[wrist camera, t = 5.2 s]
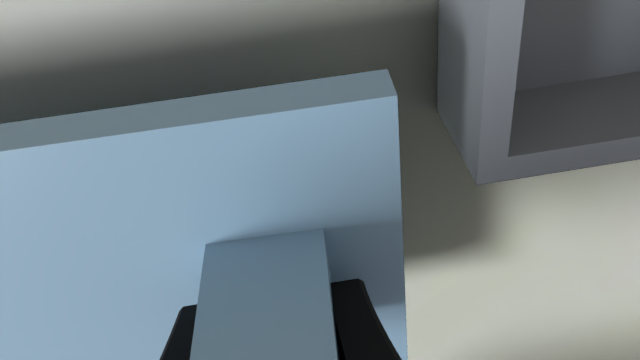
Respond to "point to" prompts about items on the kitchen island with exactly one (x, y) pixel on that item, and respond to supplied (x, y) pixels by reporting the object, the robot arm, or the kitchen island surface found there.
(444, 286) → the kitchen island surface
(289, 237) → the lid
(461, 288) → the kitchen island surface
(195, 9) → the kitchen island surface
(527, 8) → the tub
